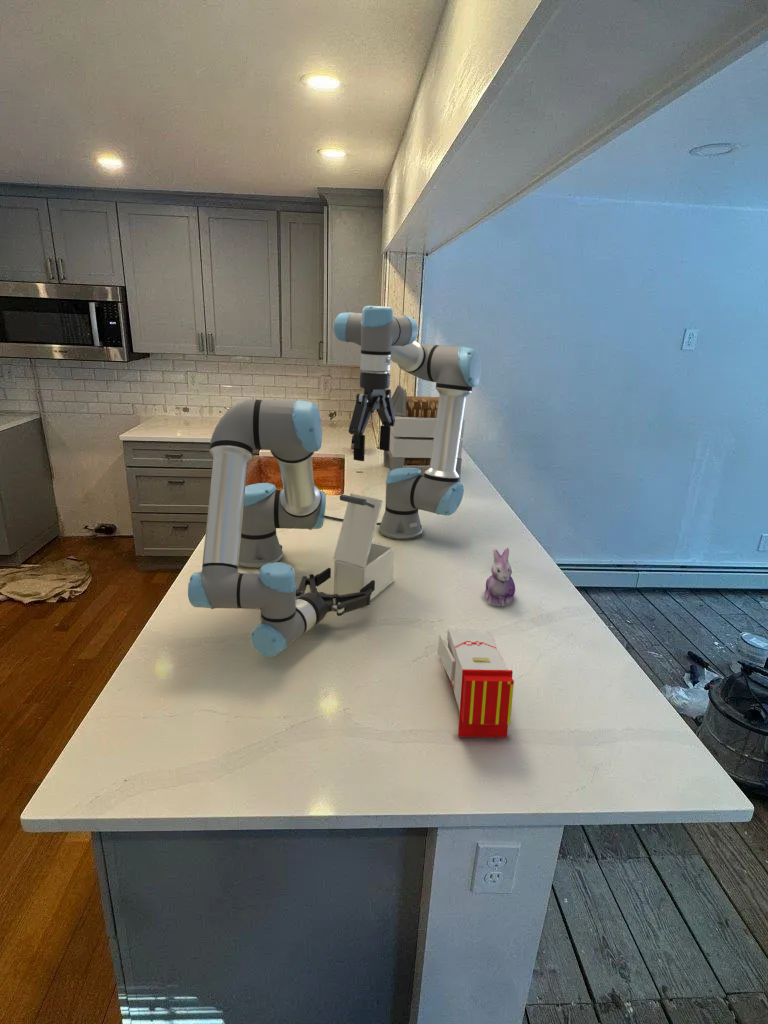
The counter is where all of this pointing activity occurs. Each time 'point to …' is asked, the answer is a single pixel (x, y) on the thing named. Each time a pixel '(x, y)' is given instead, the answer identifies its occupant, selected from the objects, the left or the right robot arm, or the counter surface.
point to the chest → (365, 572)
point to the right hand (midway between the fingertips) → (372, 455)
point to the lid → (357, 529)
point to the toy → (478, 682)
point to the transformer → (414, 431)
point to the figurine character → (352, 443)
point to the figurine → (500, 581)
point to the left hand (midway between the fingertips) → (351, 578)
